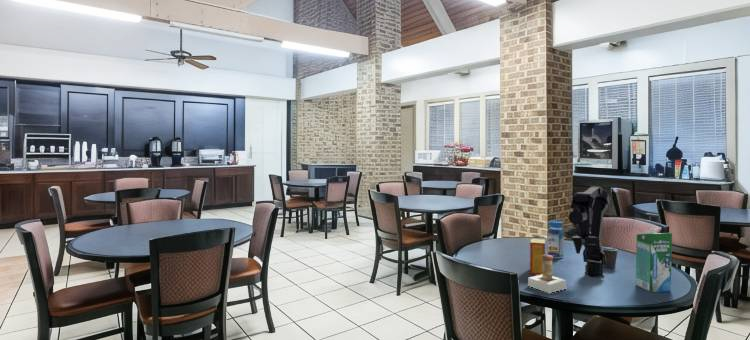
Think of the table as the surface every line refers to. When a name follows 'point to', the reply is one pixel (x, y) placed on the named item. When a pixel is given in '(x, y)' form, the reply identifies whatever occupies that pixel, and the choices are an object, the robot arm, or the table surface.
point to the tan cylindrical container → (547, 267)
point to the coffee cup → (610, 257)
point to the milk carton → (654, 261)
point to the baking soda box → (536, 255)
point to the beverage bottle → (555, 239)
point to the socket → (547, 284)
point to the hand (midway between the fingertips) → (582, 256)
